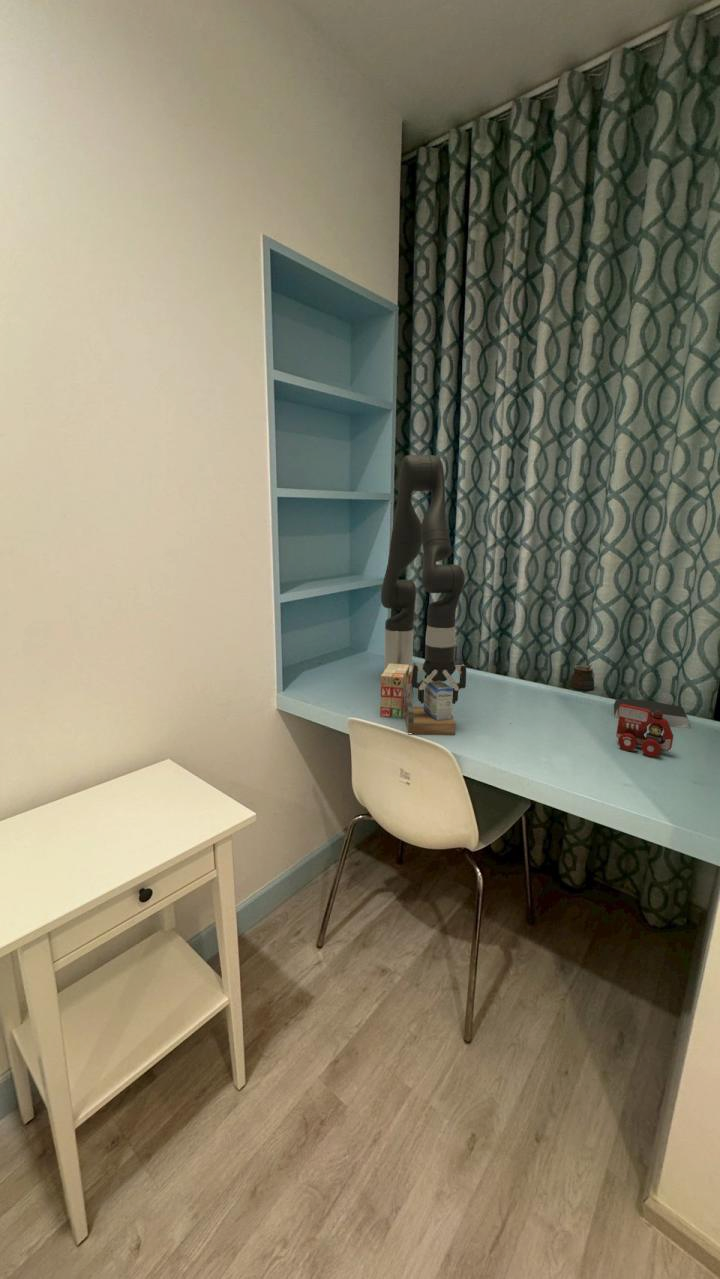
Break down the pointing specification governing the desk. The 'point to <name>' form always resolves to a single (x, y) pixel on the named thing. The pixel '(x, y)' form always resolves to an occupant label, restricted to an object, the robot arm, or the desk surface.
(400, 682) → the stack of blocks
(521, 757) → the desk surface
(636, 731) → the toy fire truck
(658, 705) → the grey flat block
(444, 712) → the medicine box
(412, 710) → the dock
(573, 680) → the mate gourd
